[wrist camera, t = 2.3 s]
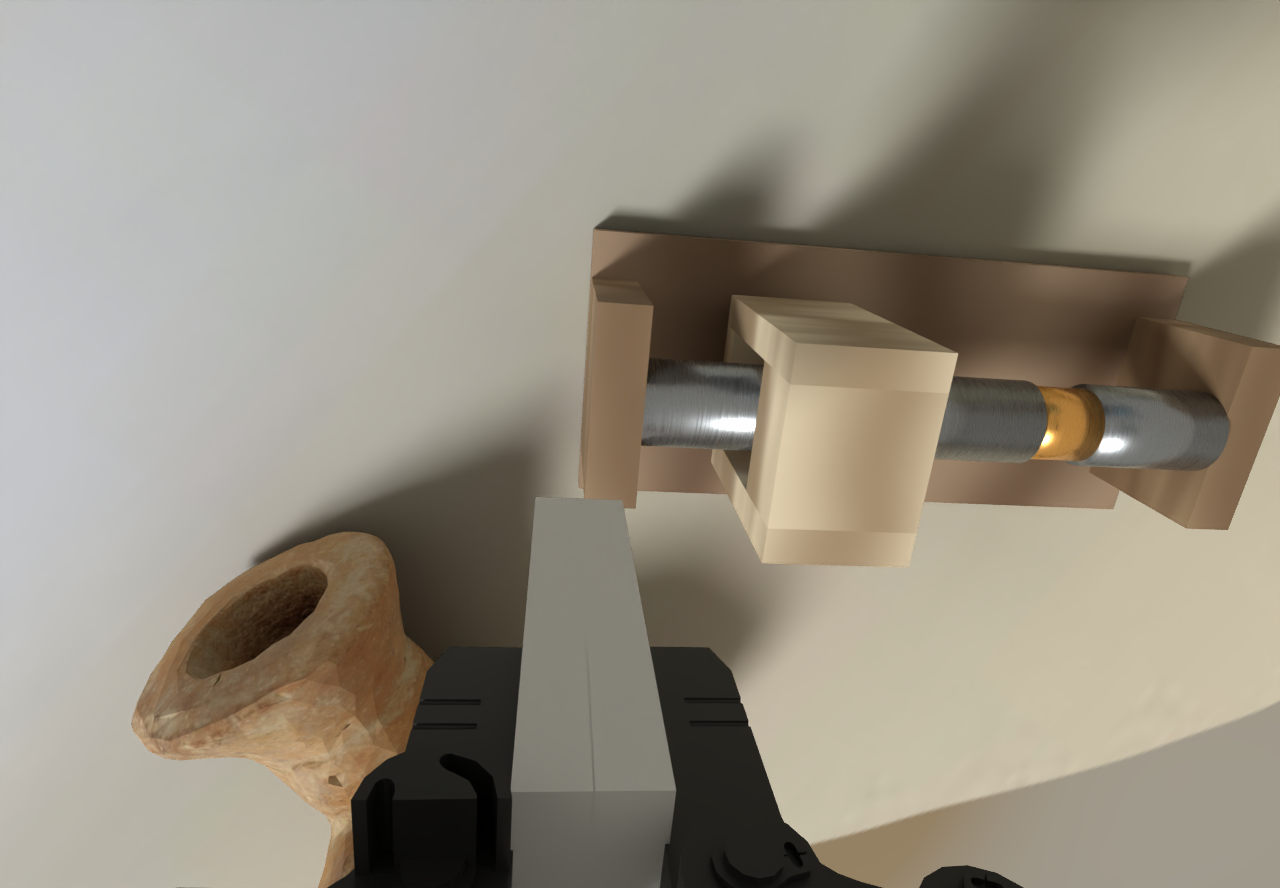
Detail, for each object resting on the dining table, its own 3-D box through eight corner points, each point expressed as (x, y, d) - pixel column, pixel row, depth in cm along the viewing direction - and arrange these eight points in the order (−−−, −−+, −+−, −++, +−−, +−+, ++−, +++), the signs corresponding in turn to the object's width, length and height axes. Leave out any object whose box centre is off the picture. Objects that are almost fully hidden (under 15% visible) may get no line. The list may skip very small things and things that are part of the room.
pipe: (385, 474, 27) (290, 635, 18) (623, 760, 32) (647, 998, 23) (189, 599, 28) (1, 815, 19) (452, 856, 33) (409, 1123, 24)
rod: (633, 429, 24) (641, 458, 21) (640, 348, 23) (649, 369, 20) (1150, 454, 26) (1211, 483, 23) (1175, 381, 25) (1241, 404, 22)
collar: (711, 461, 26) (762, 562, 19) (731, 294, 24) (796, 342, 17) (821, 466, 27) (908, 567, 20) (850, 303, 25) (958, 353, 18)
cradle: (578, 479, 28) (581, 552, 22) (593, 228, 25) (601, 244, 19) (1099, 500, 30) (1212, 570, 25) (1171, 274, 27) (1316, 299, 22)
